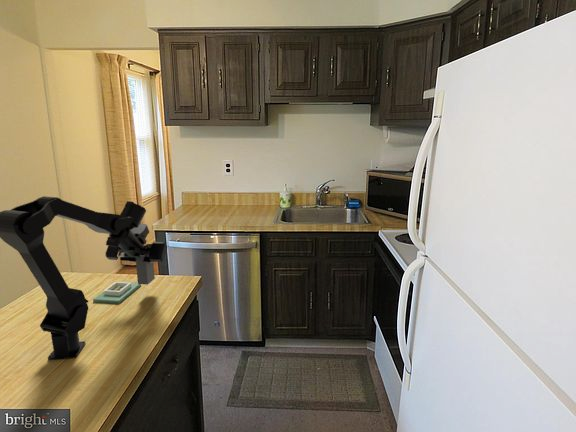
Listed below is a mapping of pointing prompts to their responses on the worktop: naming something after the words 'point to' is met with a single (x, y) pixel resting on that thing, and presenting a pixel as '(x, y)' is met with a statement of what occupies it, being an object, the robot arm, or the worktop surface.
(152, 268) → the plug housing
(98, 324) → the worktop surface
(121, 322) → the worktop surface
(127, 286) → the board
